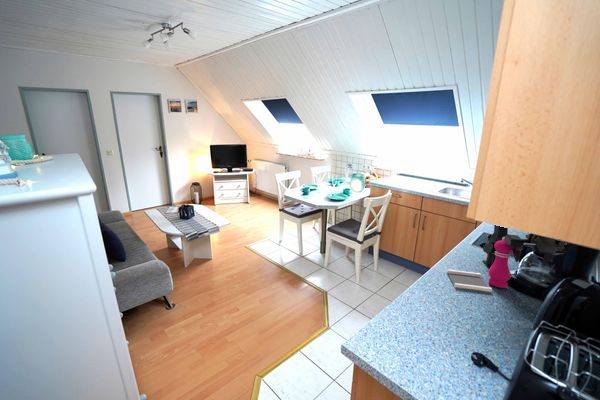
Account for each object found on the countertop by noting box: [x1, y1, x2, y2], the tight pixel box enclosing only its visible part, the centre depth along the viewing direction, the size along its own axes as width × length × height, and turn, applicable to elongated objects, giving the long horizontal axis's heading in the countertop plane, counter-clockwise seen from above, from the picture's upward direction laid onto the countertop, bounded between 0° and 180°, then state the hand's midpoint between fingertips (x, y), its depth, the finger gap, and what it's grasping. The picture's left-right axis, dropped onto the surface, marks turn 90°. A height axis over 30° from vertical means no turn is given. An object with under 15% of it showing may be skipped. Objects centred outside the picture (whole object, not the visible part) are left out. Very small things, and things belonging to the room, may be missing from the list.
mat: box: [446, 269, 493, 294], centre depth 115 cm, size 12×13×2 cm
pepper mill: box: [488, 237, 513, 289], centre depth 111 cm, size 7×7×20 cm
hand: (530, 263), depth 106 cm, fingers open, 9 cm apart
